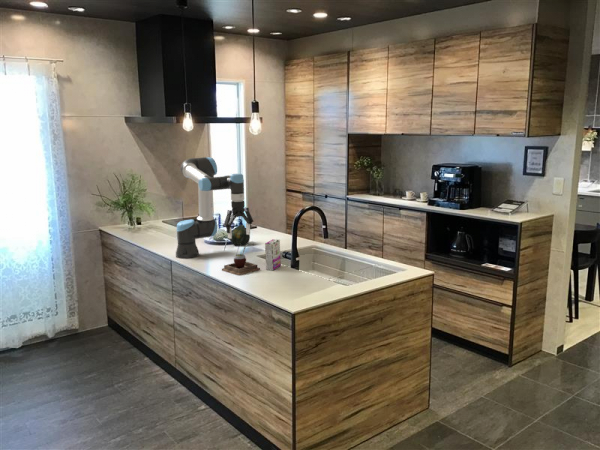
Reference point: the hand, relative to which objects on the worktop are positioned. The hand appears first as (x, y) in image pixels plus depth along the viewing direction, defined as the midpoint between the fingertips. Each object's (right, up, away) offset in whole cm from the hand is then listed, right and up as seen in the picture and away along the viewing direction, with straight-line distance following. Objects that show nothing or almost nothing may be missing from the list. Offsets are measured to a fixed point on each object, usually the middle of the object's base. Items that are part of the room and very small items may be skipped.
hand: (239, 236), depth 303 cm
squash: (-8, -7, +71) cm, 72 cm away
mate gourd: (+1, -19, +4) cm, 20 cm away
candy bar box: (+20, -19, +7) cm, 28 cm away
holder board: (+1, -20, +4) cm, 20 cm away
